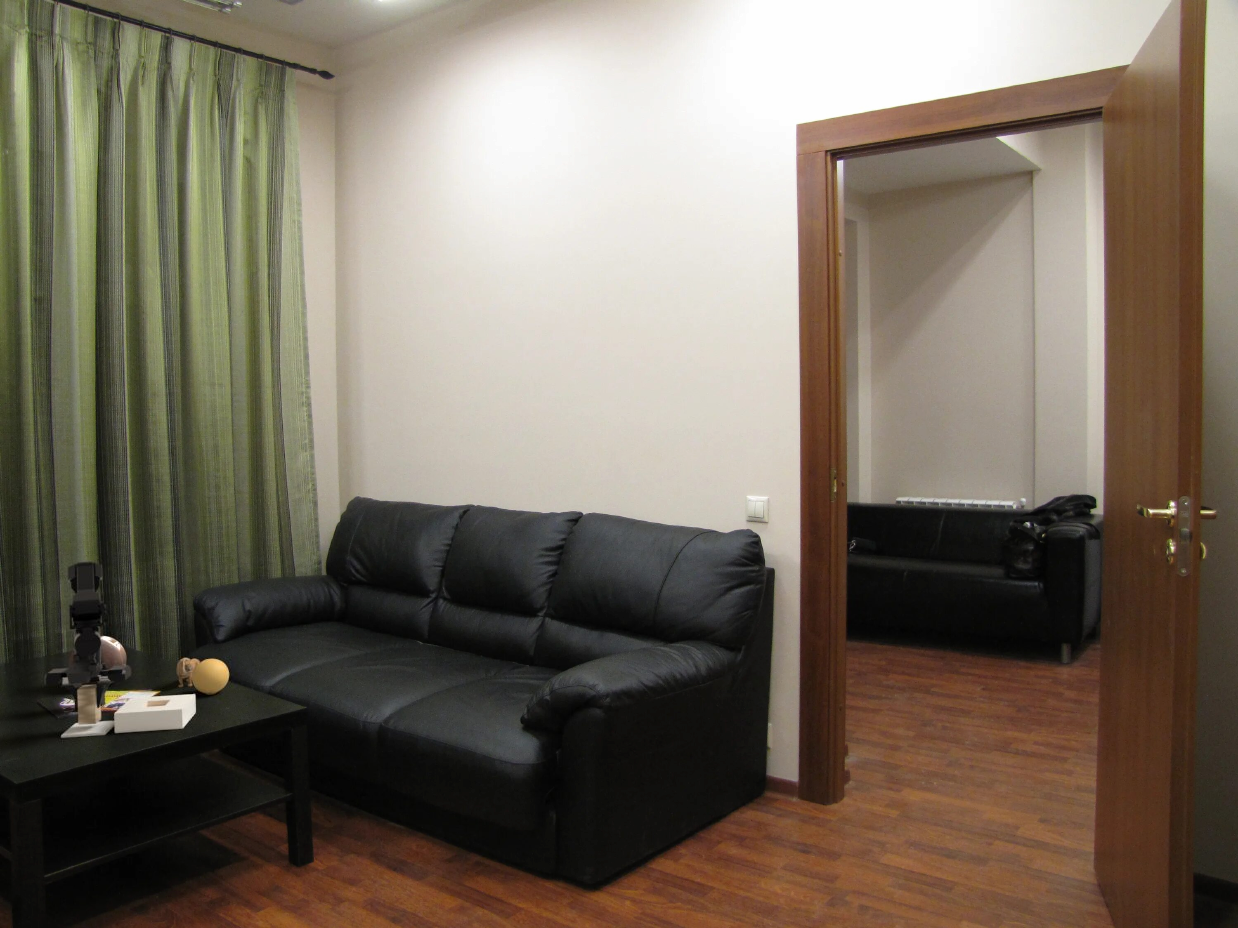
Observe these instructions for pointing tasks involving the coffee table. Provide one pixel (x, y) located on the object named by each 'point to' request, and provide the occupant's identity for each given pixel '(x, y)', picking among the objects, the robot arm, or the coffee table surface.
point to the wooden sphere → (109, 653)
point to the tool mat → (89, 729)
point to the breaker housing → (155, 713)
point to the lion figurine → (186, 670)
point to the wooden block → (88, 705)
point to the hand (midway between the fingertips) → (89, 708)
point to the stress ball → (210, 676)
